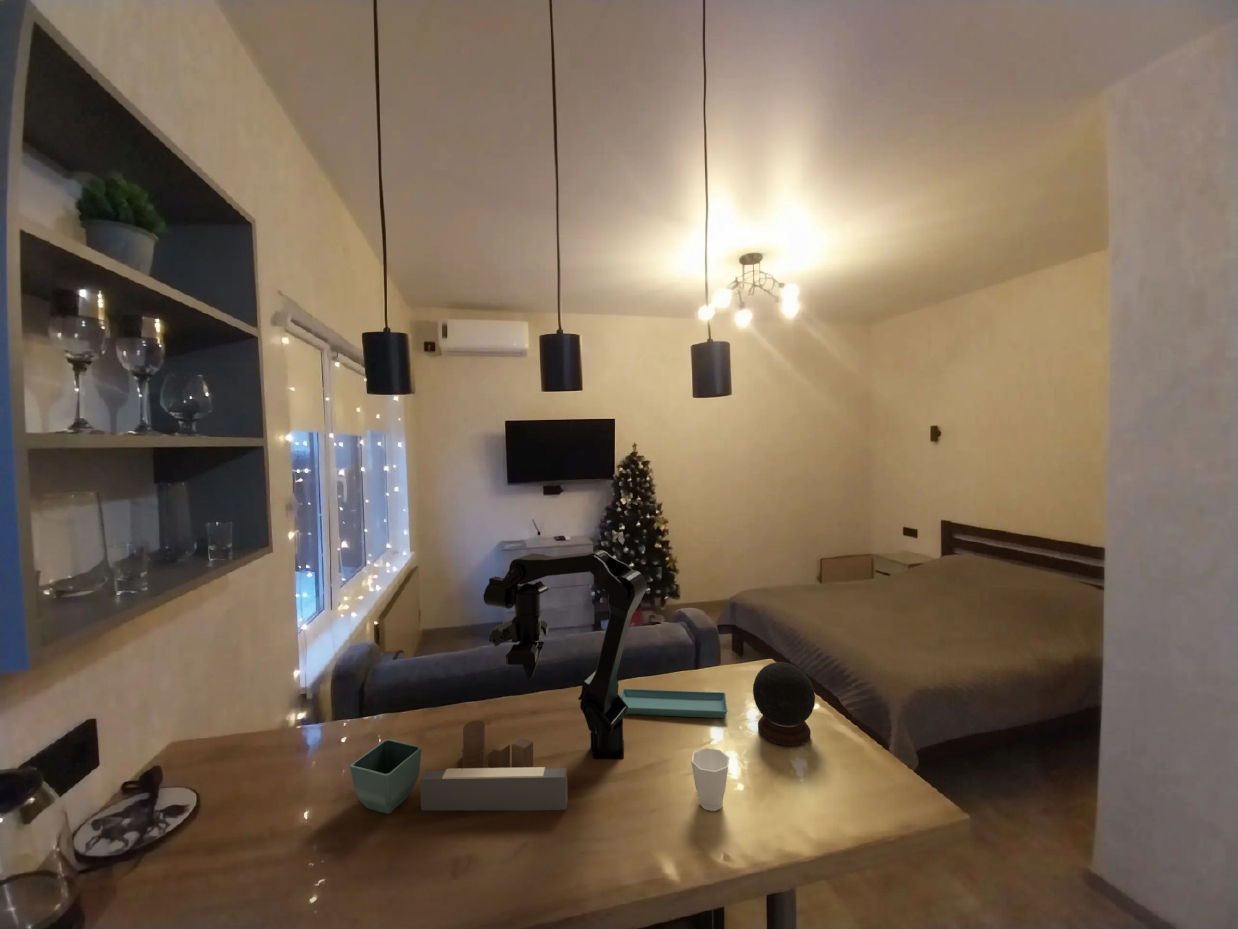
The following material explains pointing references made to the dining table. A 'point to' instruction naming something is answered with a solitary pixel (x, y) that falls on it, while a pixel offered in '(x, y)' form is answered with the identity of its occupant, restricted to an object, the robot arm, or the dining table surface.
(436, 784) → the board
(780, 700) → the ball on wooden stand
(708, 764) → the cup
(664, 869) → the dining table surface
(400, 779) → the flower pot
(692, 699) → the shallow long dish
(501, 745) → the wooden block set
